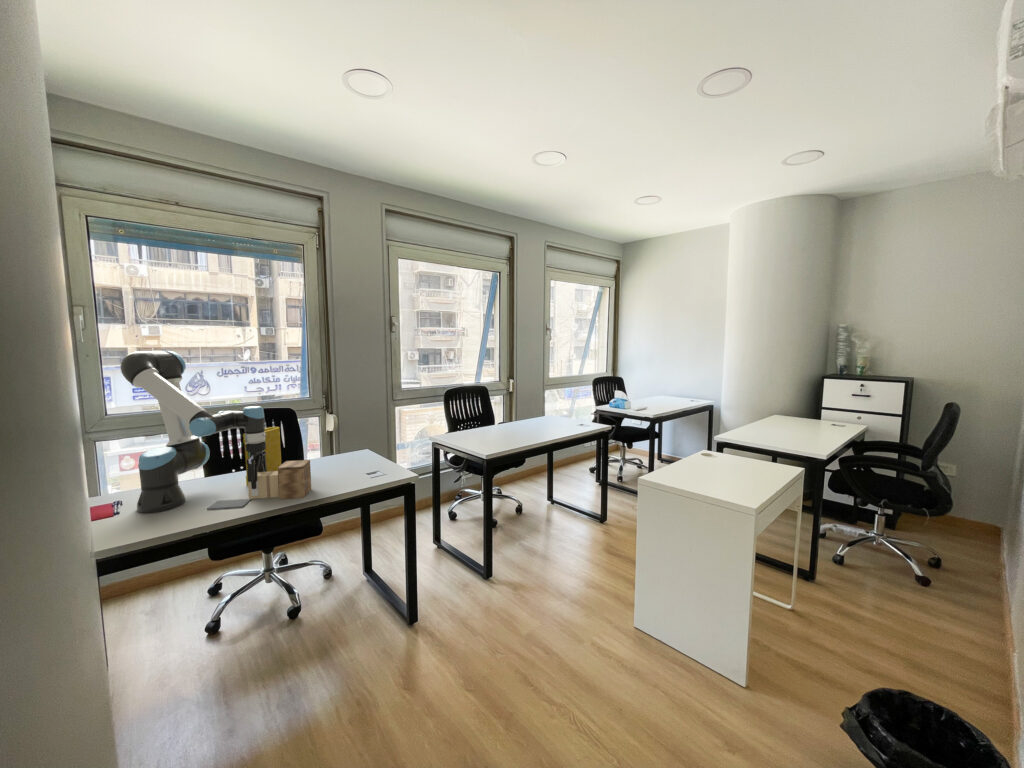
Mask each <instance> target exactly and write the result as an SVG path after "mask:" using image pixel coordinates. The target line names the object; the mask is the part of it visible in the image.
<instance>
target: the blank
mask: <svg viewBox="0 0 1024 768" xmlns="http://www.w3.org/2000/svg"><path fill="white" fill-rule="evenodd" d="M257 481H258V484H259V495H258V496H252V495H251V482H248V486H247V489H248V499H251V500H253V499H267V498H268V499H269V498H279V482H278V471H268V472H258V475H257Z"/></svg>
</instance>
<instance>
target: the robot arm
mask: <svg viewBox="0 0 1024 768" xmlns="http://www.w3.org/2000/svg"><path fill="white" fill-rule="evenodd" d="M185 370H186V361H185V359H184V358H183V357H182V356H181V354H179V353H177V352H176V351H171V350H164V349H163V350H151V351H150V350H145V351H144V350H142V351H141V350H140V351H139V350H138V351H134V352H131V353H129V354H127V355H126V356H124V357H123V359H122V360H121V362H120V371H121V372H120V373H121V374H122V376H123V377H124V378H125V379H126V381H127V382H129V383H130V385H132V386H133V387H136V388H141V389H142V390H144V391H145V392H147V393H148V394H149V395H150V396H152V397H153V398H154V399H156V400H157V402H158V405H159V409H160V413H161V416H162V419H163V423H164V427H165V429H166V434H167V436H168V437H167V438H168V442H167V443H166V445H165V446H163V447H158V448H153V449H152V448H151V449H150V450H146V451H145V452H142V454H140V456H139V457H138V465H137V466H138V471H139V480H140V490H141V491H140V494H139V497H138V501H137V504H136V511H137V513H141V514H153V513H159V512H164V511H165V512H166V511H169V510H172V509H175V508H177V507H180V506H181V505H183V504H184V503H185V502H186V495H185V493H184V492H183V490H182V488H181V486H180V485H179V476H180V475H181V474H184V473H187V472H189V471H193V470H197V469H198V468H200V467H202V466H204V465H205V464H206V463H207V462H208V460H209V459H210V453H211V452H210V448H209V446H208V444H205V442H204V441H202V440H200V438H202V437H207V436H212V435H213V434H217V433H221V432H224V431H228V430H230V429H231V430H232V429H244V434H245V442H247V443H246V444H244V446H245V445H246V451H247V452H250V459H247V471H248V482H251V495H252V496H258V495H259V484H258V481H257V475H258V472H267V467H266V451H263V450H265V449H266V442H265V441H264V440H265V436H266V434H265V428H266V427H265V425H266V424H265V415H266V414H265V412H264V411H265V410H264V408H263V407H262V406H260V405H251V406H245V407H243V409H242V410H229V409H228V410H220V411H218V412H216V413H215V414H212V413H210V412H209V411H207V410H206V409H205V408H204V407H203V406H201V405H199V404H198V403H197V402H196V401H194V399H192V398H191V397H189V396H188V395H187V394H186V393H184V392H182V389H181V385H180V383H181V381H182V380H183V376H182V375H183V374H184V373H185ZM255 463H256V464H255Z"/></svg>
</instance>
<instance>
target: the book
mask: <svg viewBox="0 0 1024 768" xmlns="http://www.w3.org/2000/svg"><path fill="white" fill-rule="evenodd" d="M280 432H281V431H280V426H269V427H265V434H266V436H265V440H264V441H265V442H266V449H265V450H263V451H266V467H267V472H268V471H278V467H280V466H281V465H282V450H281V448H282V447H281V433H280ZM242 437H243V438H242V439H243V445H244V457H245V469H246V470H245V471H246V476H245V483H246V486H247V487H248V471H247V459H250V452H247V451H246V445H245V444H246V443H247V442H245V433H243V434H242ZM255 464H256V463H255Z"/></svg>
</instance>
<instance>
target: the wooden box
mask: <svg viewBox="0 0 1024 768" xmlns="http://www.w3.org/2000/svg"><path fill="white" fill-rule="evenodd" d="M311 471H312V470H311V459H296V460H294V459H293V460H286V461H284V462H283V463H281V466H280V467H278V482H279V497H278V499H279V500H285V499H286V500H287V499H303V498H305V497H306V496H307V495H308V494H309V492H310V491H312V477H311V476H312V473H311Z"/></svg>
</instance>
